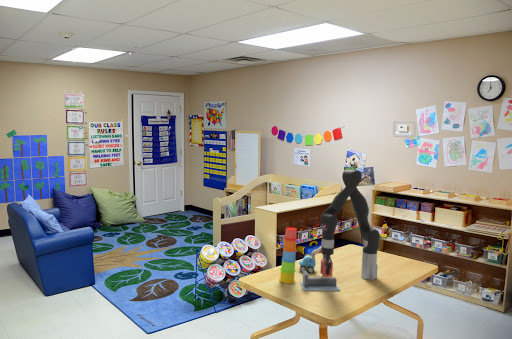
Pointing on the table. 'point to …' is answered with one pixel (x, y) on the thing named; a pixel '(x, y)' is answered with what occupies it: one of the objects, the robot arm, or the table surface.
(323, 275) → the red slotted block
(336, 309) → the table surface
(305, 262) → the toy excavator
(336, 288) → the base board
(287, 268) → the stacking cups
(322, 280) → the coupler rail
